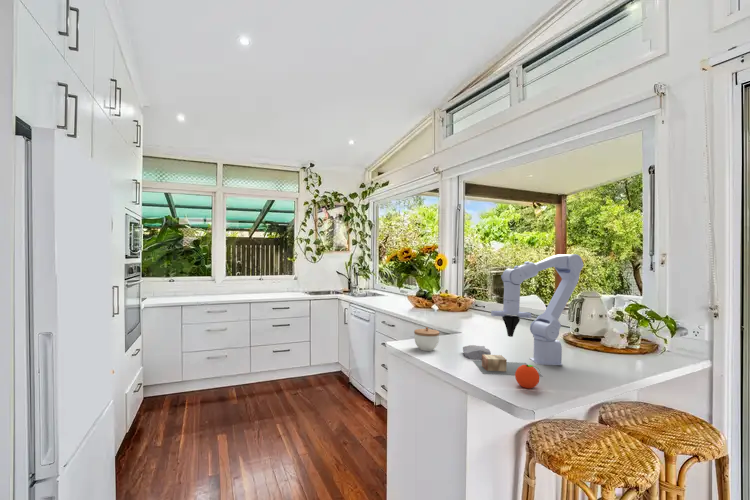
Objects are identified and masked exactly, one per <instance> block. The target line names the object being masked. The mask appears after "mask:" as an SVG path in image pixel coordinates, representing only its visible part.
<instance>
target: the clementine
mask: <svg viewBox="0 0 750 500" xmlns="http://www.w3.org/2000/svg"><path fill="white" fill-rule="evenodd" d="M536 368H537V369H536ZM538 373H539V374H541V369H539V367H537V366H535V365H533V364H528V365H522V366H520V367H518V369H517V370H516V373H515V375H514V376H515V380H516V382H517V384H518V385H519V386H521V387H522V388H525V389H533V388H535V387H537V385H539V382H540V376H539V374H538Z"/></svg>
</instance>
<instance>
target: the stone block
mask: <svg viewBox="0 0 750 500" xmlns="http://www.w3.org/2000/svg"><path fill="white" fill-rule="evenodd" d="M462 351H463V352H462V353H463V354H464V357H465V358H467V359H470V360H482V354H483V355H492V354H491V351H490V349H489V348H486V346H484V345H474V344H472V345H471V344H470V345H466V346H463V347H462Z"/></svg>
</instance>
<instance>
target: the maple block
mask: <svg viewBox="0 0 750 500" xmlns="http://www.w3.org/2000/svg"><path fill="white" fill-rule="evenodd" d="M481 361H482V366H483V367H484V369H485V370H487V371H506V365H507V362H508V361H507V359H506V358H505V357H504V356H503V355H502V354H501V355H500V354H491V355H483V354H482V359H481Z"/></svg>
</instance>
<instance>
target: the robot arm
mask: <svg viewBox="0 0 750 500" xmlns="http://www.w3.org/2000/svg"><path fill="white" fill-rule="evenodd" d="M584 266H585V264H584V262H583V259H582V256H580V255H579V254H578V253H577V254H576V253H573V254H572V253H571V254H569V253H568V254H561V253H558V254H554V255H551V256H550V257H546V258H544V259H542V260H539V261H538V262H535V263H534V262H533V261H529V260H528V261H524V262H523V263H522V264H521V265H514V267H513V268H505V270H504V271H503V272H502V274H501V275H500V278H501V280H502V282H503V305H502V306H503V309H502V310H490V316H491V317H502V318H501V319H502V321H503V323H504V325H505V328H506V333H507V334H506V335H507V337H511V338H513V337H514V334H515V332H516V331H515V330H516V328H517V326H518V324H519V322H520V321H521V318H523V319H525V318H526V319H532V312H530V311H529V312H527V311H520V304H521V303H520V300H521V284H523V282H524V281H526V280H528V279H530V278H531V279H532V278H533V277H537V275H538V274H539V272H541V271H544V270H547V269H551V268H554V269H555V271H556V272H557V274H558V275H559V277H560V278H561V281H560V282H559V284H558V287H557V288H556V289H555V291H554V294H553V295H552V297H551V299H550V301H549V303H548V304H547V306H546V309H545V310H544V312H543V313H541V314H539V315H538V316H537V317H536V318H535V319H534V320H533V321H532V322H531V324H530V326H529V330H530V334H532V338H533V357H529V360H531V361H532V362H534V363H535V364H536V365H544V366H545V365H550V366H563V363H562V356H563V355H562V354H563V353H562V352H563V350H562V347H563V346H562V343H561V341H560V340H558V337H559V335H560V331H561V330H560V329H561V327H562V324H561V322H560V321H559V319H560V316H561V315H562V314H563V312H564V310H565V307H566V305H567V304H568V302H569V299H570V298H571V296H572V294H573V293H574V291H575V289H576V287H577V285H578V283H579V279H580V274H581V271H582V269H583V268H584Z"/></svg>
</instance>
